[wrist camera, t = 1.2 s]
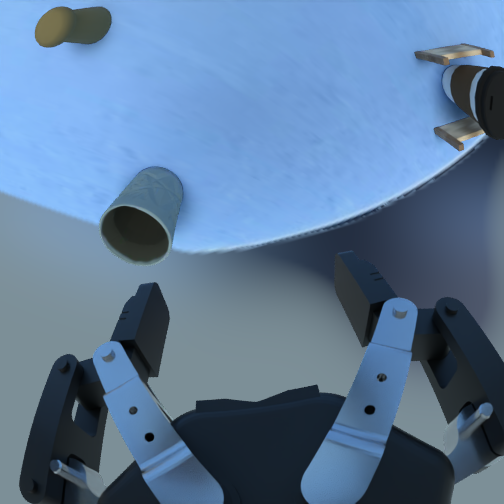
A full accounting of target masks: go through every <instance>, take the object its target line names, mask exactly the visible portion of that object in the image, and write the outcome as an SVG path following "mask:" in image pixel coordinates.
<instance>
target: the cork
mask: <svg viewBox="0 0 504 504" xmlns="http://www.w3.org/2000/svg"><path fill="white" fill-rule="evenodd" d="M110 25H111V15H110V12H109V11H108V10H107V9H106V8H103V7H90V8H83V9H76V10H72V9H70V8H68V7H56V8H53V9H51V10H49V11H48V12H47V13H45V14H44V15H43V16H42V17H41V19H40V20H39V21H38V23H37V26H36V29H35V38H36V41H37V42H38V43H39V45H40V46H43V47H55V46H57V45H60V44H62V43H63V42H71V43H81V44H92V43H96V42H97V41H99V40H101V39H102V38H103V37H104V36H105V35H106V33H107V32H108V30H109V28H110Z"/></svg>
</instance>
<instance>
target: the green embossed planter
mask: <svg viewBox="0 0 504 504" xmlns="http://www.w3.org/2000/svg"><path fill="white" fill-rule="evenodd" d="M182 197H183V189H182V185H181V182H180V181H179V179H178V178H177V176H176V175H175V174H173V173H172V172H171V171H169V170H167V169H165V168H161V167H150V168H147V169H144V170H142V171H141V172H139V173H138V174H137V175H136V177H135V178H134V179H133V180H132V181H131V183H130V184H129V185H128V186H127V187H126V188H125V189H124V190H123V191H122V192H121V194H120V195H119V197H118V198H116V199H115V201H114V202H113V203H112V204H111V205H110V207H109V208H108V209H107V210H106V211H105V212H104V214H103V215H102V217H101V219H100V223H99V233H100V237H101V239H102V241H103V243H104V245H105V246H106V248H107V249H108V250H109V251H110V252H111V253H112V254H113V255H115V256H116V257H118V258H120V259H121V260H123V261H125V262H127V263H130V264H133V265H138V266H151V265H155V264H158V263H160V262H162V261H163V260H164V259H165V258H166V257H167V256H168V255H169V253H170V251H171V248H172V242H173V237H174V231H175V227H176V221H177V218H178V213H179V209H180V204H181V201H182Z"/></svg>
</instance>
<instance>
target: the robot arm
mask: <svg viewBox="0 0 504 504" xmlns="http://www.w3.org/2000/svg"><path fill="white" fill-rule="evenodd" d="M334 281H335V290H336V294H337V296H338V298H339V300H340V302H341V304H342V306H343V308H344V310H345V312H346V314H347V316H348V318H349V320H350V322H351V325H352V327H353V329H354V331H355V333H356V335H357V337H358V339H359V341H360V343H361V346H362V347H365V346H368V347H367V350H366V353H365V355H364V358H363V361H362V363H361V365H360V368H359V370H358V373H357V375H356V377H355V380H354V382H353V385H352V387H351V389H350V391H349V394H348V396H347V398H346V397H344V396H340V395H337V394H332V393H319V389H318V386H317V385H313V386H308V387H304V388H298V389H293V390H287V391H285V392H282V393H280V394H277V395H275V396H272V397H269V398H267V399H264V400H261V401H258V402H249V401H239V400H231V399H216V400H203V401H196V409H195V410H192V411H189V412H186V413H185V414H183V415H181V416H179V417H178V418H176V419H175V420H173V419H172V417H171V416H170V415H169V413H168V412H167V411H166V409H165V408H164V406H163V405H162V404H161V402H160V401H159V399H158V398H157V396H156V395H155V394H154V392H153V390H152V389H151V387H150V386H149V385H148V383H147V382H148V378H149V377H158V374H159V368H160V364H161V358H162V353H163V348H164V344H165V339H166V334H167V330H168V325H169V320H170V317H169V311H168V307H167V305H166V302H165V300H164V298H163V295H162V293H161V290H160V288H159V286H158V284H157V283H155V282H154V283H147V284H141V285H140V286H139V288H138V290H137V293H136V295H135V296H132V297H131V298H130V299H129V300H128V301H127V302H126V304H125V305H124V308H123V310H122V314H121V315H120V317H119V320H118V322H117V325H116V327H115V330H114V332H113V335H112V337H111V340H110V342H106V343H104V344H102V345H101V346H99V347H98V348H97V349H96V351H95V353H94V355H93V358H91V359H88V360H84V361H81V362H79V361H78V360H77V359H76V357H75V356H73V355H71V354H67V355H64V356H61V357H60V358H58V359H57V360H56V362H55V363H54V365H53V367H52V369H51V372H50V374H49V377H48V379H47V382H46V385H45V388H44V390H43V393H42V396H41V399H40V402H39V405H38V408H37V411H36V414H35V417H34V421H33V424H32V428H31V431H30V435H29V438H28V442H27V447H26V451H25V455H24V460H23V465H22V470H21V475H20V482H19V487H20V491H21V493H22V495H23V497H24V498H25V499H26V500H27V501H28V502H30V503H32V504H451V498H452V493H453V489H454V484H456V483H458V482H460V481H461V480H463V479H465V478H467V477H468V476H470V475H472V474H477V473H479V472H481V471H483V470H484V469H486V468H488V467H489V466H491V465H493V464H494V463H496V462H497V461H499V460H501V459H502V458H503V457H504V362H503V361H502V359H501V357H500V356H499V354H498V353H497V351H496V350H495V348H494V347H493V345H492V344H491V342H490V341H489V339H488V338H487V336H486V335H485V334H484V332H483V330H482V329H481V328H480V326H479V325H478V324H477V322H476V321H475V319H474V318H473V317H472V315H471V314H470V313H469V311H468V310H467V309H466V307H465V306H464V305H463V304H462V303H461V302H460V301H459V300H457V299H454V298H450V297H445V298H441V299H440V300H438V301H437V303H436V306H435V308H434V309H417V308H416V306H415V305H414V304H413V303H412V302H411V301H409V300H407V299H403V298H398V297H397V295H396V294H395V293H394V291H393V290H392V288H391V287H390V286H389V284H388V283H387V282H386V280H385V279H383V277H382V275H381V274H380V273H379V271H378V270H377V269H376V267H375V266H374V265H373V264H371V263H369V262H368V261H366V260H359V259H358V257H357V256H356V255H355V253H354V252H353V251H348V252H342V253H337V254H336V255H335V280H334ZM450 349H451V350H450ZM411 361H420V362H421V364H422V366H423V368H424V370H425V373H426V375H427V377H428V379H429V381H430V383H431V385H432V387H433V390H434V392H435V394H436V396H437V399H438V401H439V403H440V406H441V408H442V410H443V413H444V415H445V418H446V420H447V423H448V426H447V427H446V429H445V432H444V447H445V450H444V453H443V452H442V451H440V450H439V449H437V448H435V447H433V446H431V445H429V444H427V443H425V442H423V441H421V440H420V439H418V438H416V437H414V436H412V435H410V434H408V433H407V432H405V431H403V430H401V429H400V428H398V427H396V426H394V425H393V422H394V419H395V416H396V413H397V409H398V406H399V403H400V400H401V397H402V393H403V390H404V386H405V382H406V378H407V374H408V370H409V366H410V362H411ZM75 400H77V401H78V403H79V404H78V408H77V412H76V416H75V420H74V422H73V420H72V409H73V406H74V402H75ZM108 409H109V411H110V413H111V416H112V418H113V420H114V422H115V424H116V426H117V428H118V430H119V432H120V433H121V435H122V437H123V439H124V441H125V443H126V445H127V446H128V448H129V450H130V452H131V453H132V455H133V457H134V459H135V461H134V462H133V463H132V464H131V465H130V466H129V467H128V468H127V469H126V470H125V471H124V472H123V473H122V474H121V475H120V476H119V477H118V478H117V479H116V480H115V481H114V482H112V484H111V485H109V486H108V487H107V488H106V486H105V485H104V483H103V479H102V477H101V475H100V474H99V465H100V457H101V450H102V443H103V436H104V430H105V424H106V419H107V413H108Z"/></svg>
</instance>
